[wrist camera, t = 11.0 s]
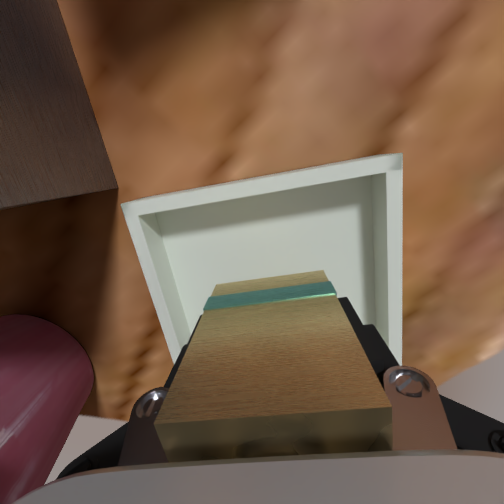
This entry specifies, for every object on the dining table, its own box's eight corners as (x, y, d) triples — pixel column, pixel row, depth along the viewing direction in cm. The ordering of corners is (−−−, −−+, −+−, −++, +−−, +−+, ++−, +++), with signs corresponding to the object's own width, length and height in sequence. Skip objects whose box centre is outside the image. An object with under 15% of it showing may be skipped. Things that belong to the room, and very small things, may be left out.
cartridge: (214, 283, 12) (126, 474, 5) (324, 268, 12) (423, 459, 4) (235, 369, 14) (194, 616, 6) (333, 360, 13) (417, 620, 6)
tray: (143, 197, 15) (120, 204, 13) (379, 154, 14) (402, 152, 11) (197, 376, 19) (188, 406, 17) (384, 358, 18) (401, 388, 16)
